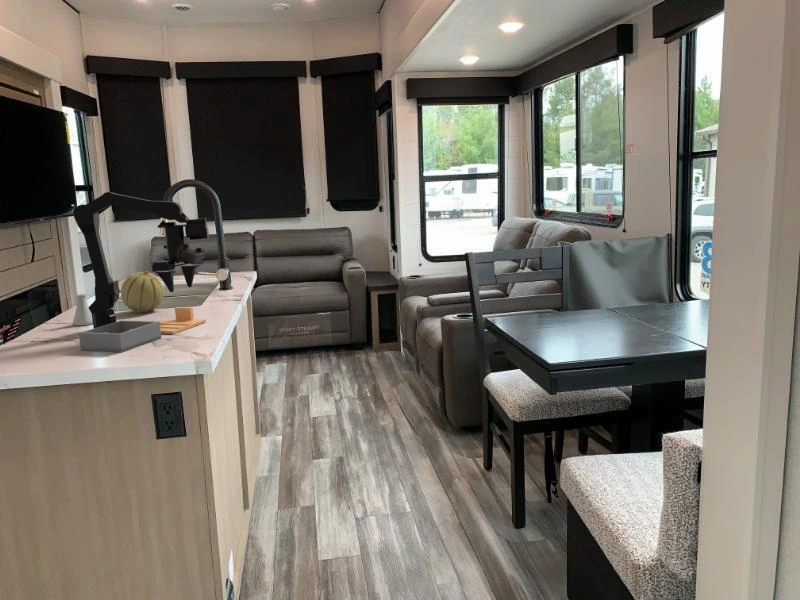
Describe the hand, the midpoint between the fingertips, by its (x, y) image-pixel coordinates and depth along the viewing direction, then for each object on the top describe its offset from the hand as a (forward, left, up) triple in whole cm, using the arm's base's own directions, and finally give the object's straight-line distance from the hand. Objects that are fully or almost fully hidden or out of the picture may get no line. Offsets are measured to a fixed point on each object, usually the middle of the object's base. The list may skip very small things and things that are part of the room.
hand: (181, 289), depth 204 cm
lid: (0, -7, -11) cm, 13 cm away
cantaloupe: (-29, +16, -11) cm, 35 cm away
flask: (-36, -5, -11) cm, 38 cm away
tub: (0, -28, -11) cm, 30 cm away
